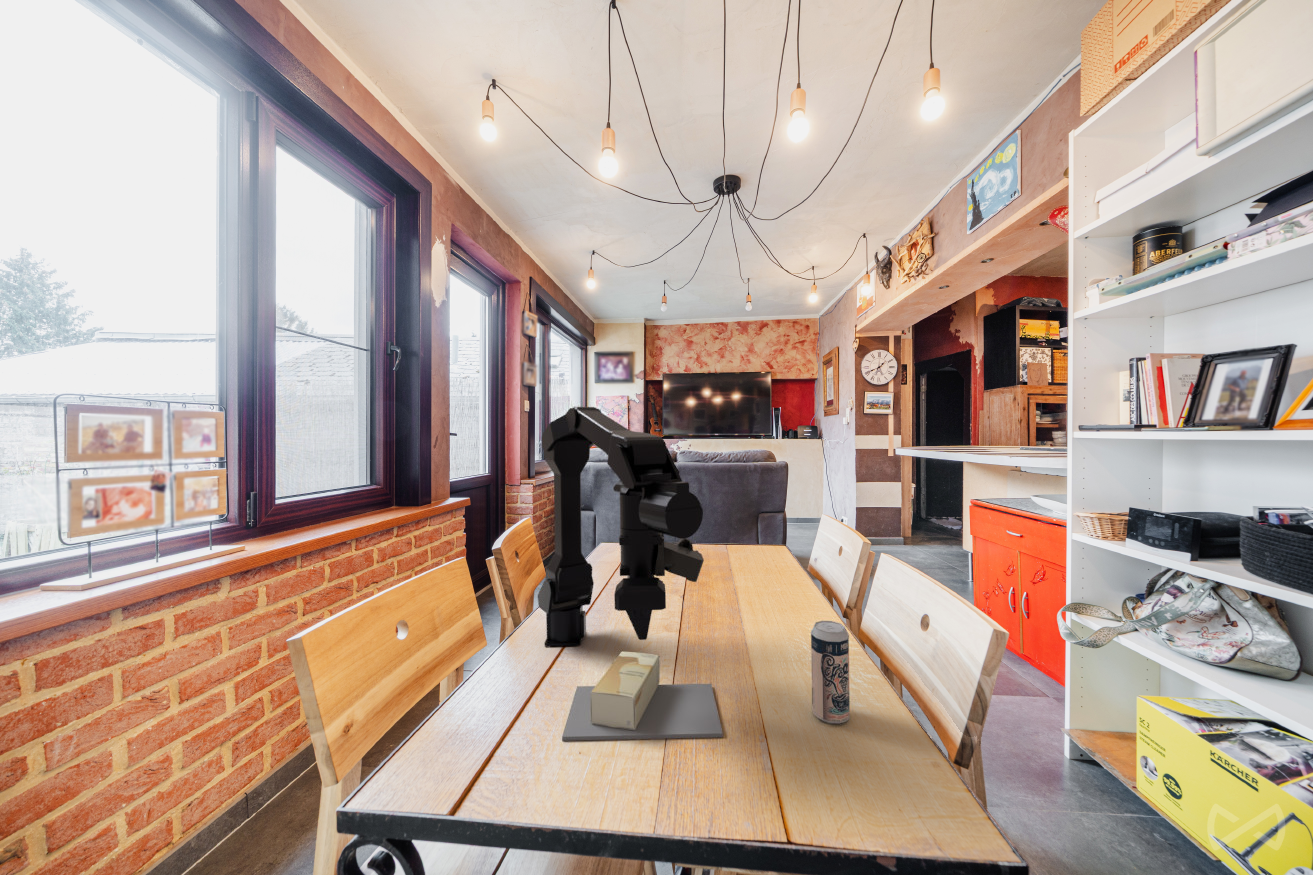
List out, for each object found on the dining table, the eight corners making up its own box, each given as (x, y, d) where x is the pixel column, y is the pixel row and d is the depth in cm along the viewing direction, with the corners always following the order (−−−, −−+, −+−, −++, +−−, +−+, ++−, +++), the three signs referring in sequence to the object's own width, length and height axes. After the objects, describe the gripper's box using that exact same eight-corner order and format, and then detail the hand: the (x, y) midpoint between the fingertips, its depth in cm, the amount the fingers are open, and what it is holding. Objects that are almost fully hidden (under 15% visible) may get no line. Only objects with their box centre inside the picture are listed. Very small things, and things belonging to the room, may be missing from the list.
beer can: (832, 730, 61) (830, 636, 61) (804, 711, 65) (803, 623, 65) (858, 720, 63) (857, 628, 63) (829, 702, 68) (828, 616, 67)
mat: (562, 740, 60) (562, 736, 60) (577, 689, 72) (577, 686, 72) (722, 737, 60) (722, 733, 60) (711, 686, 72) (711, 683, 72)
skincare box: (659, 654, 73) (637, 697, 61) (660, 682, 73) (637, 731, 61) (619, 650, 74) (589, 691, 62) (619, 678, 74) (589, 725, 62)
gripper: (706, 539, 58) (708, 670, 58) (693, 514, 76) (694, 612, 76) (613, 541, 58) (615, 672, 58) (622, 515, 76) (624, 614, 76)
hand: (642, 638), depth 67 cm, fingers closed
